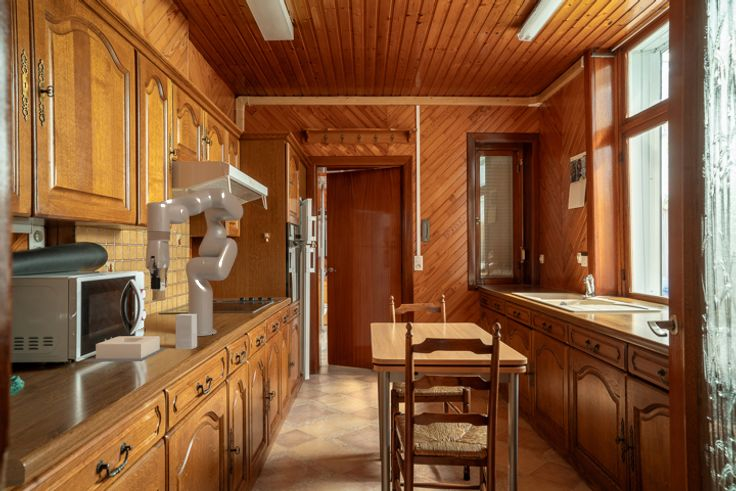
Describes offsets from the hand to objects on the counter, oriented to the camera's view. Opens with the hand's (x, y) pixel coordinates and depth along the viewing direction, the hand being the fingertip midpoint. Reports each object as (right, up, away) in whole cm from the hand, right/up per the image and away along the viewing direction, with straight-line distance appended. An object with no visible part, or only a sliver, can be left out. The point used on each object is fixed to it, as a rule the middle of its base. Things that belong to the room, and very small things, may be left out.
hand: (158, 287), depth 170 cm
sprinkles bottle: (0, -5, 0) cm, 5 cm away
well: (-4, -20, -14) cm, 25 cm away
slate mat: (-4, -21, -15) cm, 26 cm away
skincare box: (+11, -21, -3) cm, 24 cm away
